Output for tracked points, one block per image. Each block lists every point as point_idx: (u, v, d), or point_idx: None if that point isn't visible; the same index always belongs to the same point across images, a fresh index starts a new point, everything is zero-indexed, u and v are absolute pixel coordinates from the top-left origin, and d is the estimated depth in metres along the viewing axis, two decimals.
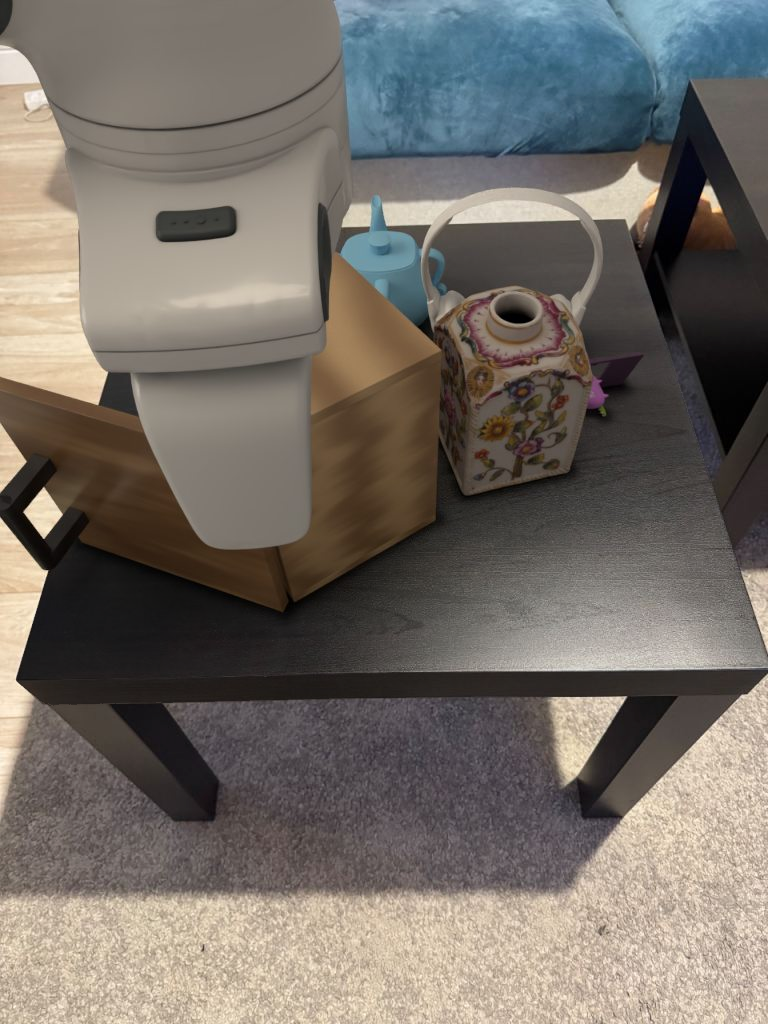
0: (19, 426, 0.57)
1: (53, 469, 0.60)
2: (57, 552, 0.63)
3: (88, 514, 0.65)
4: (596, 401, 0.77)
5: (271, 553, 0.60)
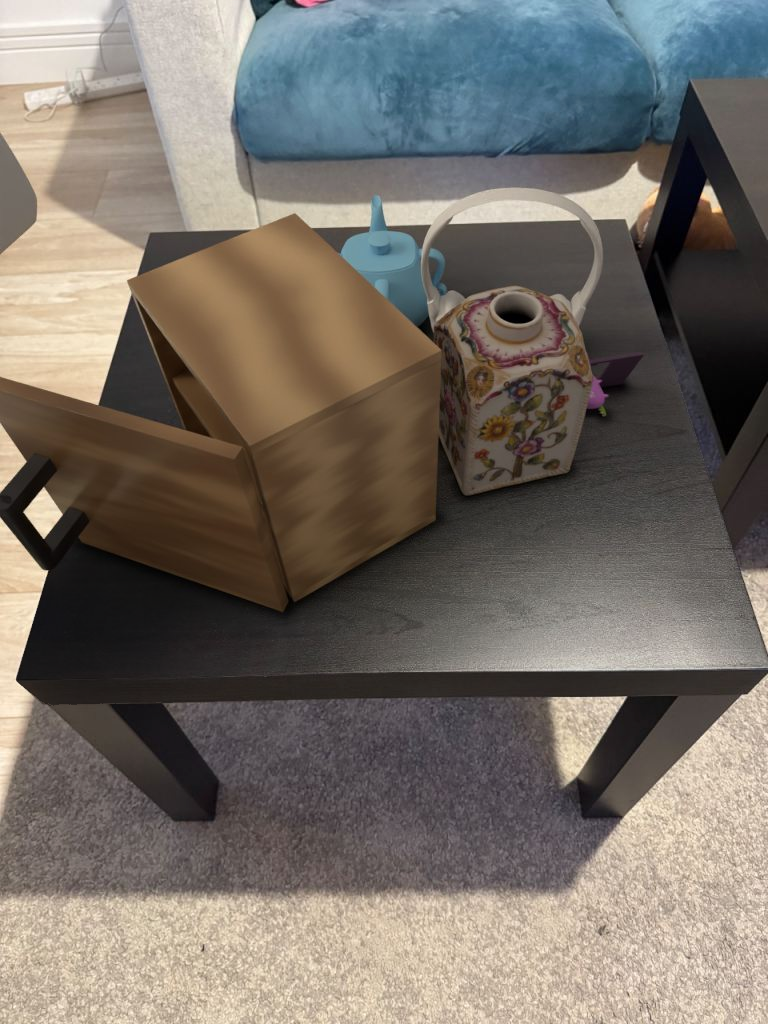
0: (19, 426, 0.57)
1: (53, 469, 0.60)
2: (57, 552, 0.63)
3: (88, 514, 0.65)
4: (596, 401, 0.77)
5: (271, 553, 0.60)
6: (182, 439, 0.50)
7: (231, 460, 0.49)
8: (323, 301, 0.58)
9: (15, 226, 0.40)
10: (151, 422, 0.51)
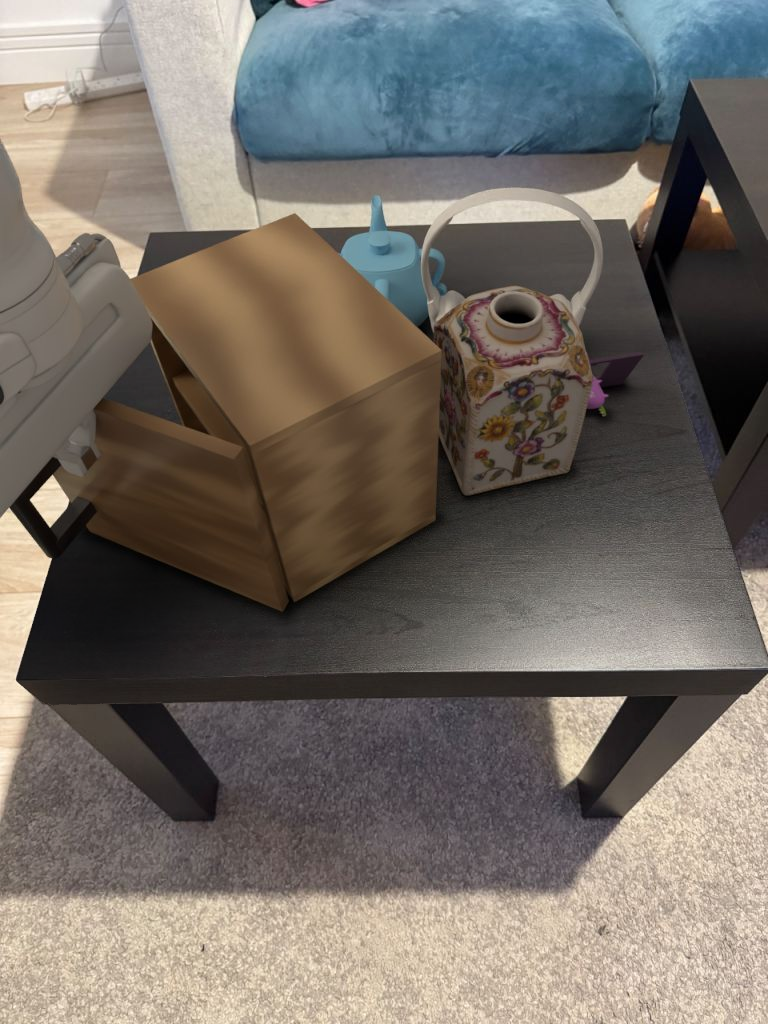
0: None
1: None
2: (63, 540, 0.64)
3: (96, 504, 0.66)
4: (596, 401, 0.77)
5: (271, 553, 0.60)
6: (184, 437, 0.50)
7: (231, 459, 0.49)
8: (323, 301, 0.58)
9: (138, 347, 0.53)
10: (155, 418, 0.51)
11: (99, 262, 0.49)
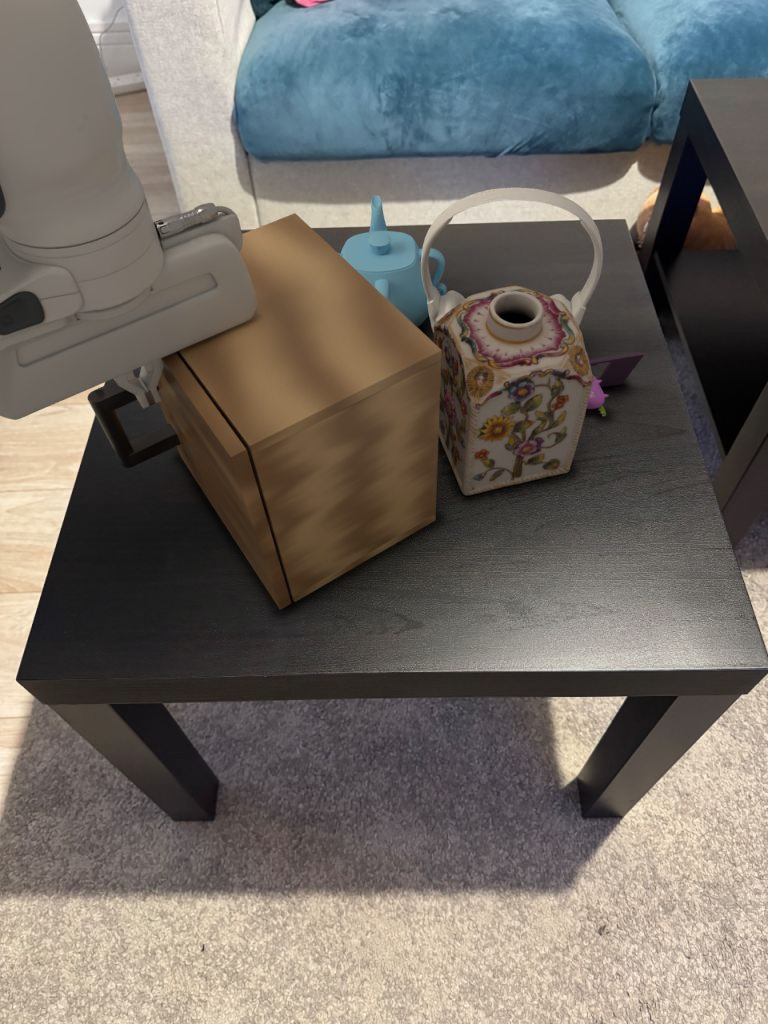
0: None
1: None
2: (137, 456, 0.69)
3: (178, 437, 0.70)
4: (596, 401, 0.77)
5: (272, 554, 0.59)
6: (208, 417, 0.51)
7: (229, 456, 0.49)
8: (323, 301, 0.58)
9: (231, 321, 0.55)
10: (199, 388, 0.53)
11: (216, 233, 0.51)
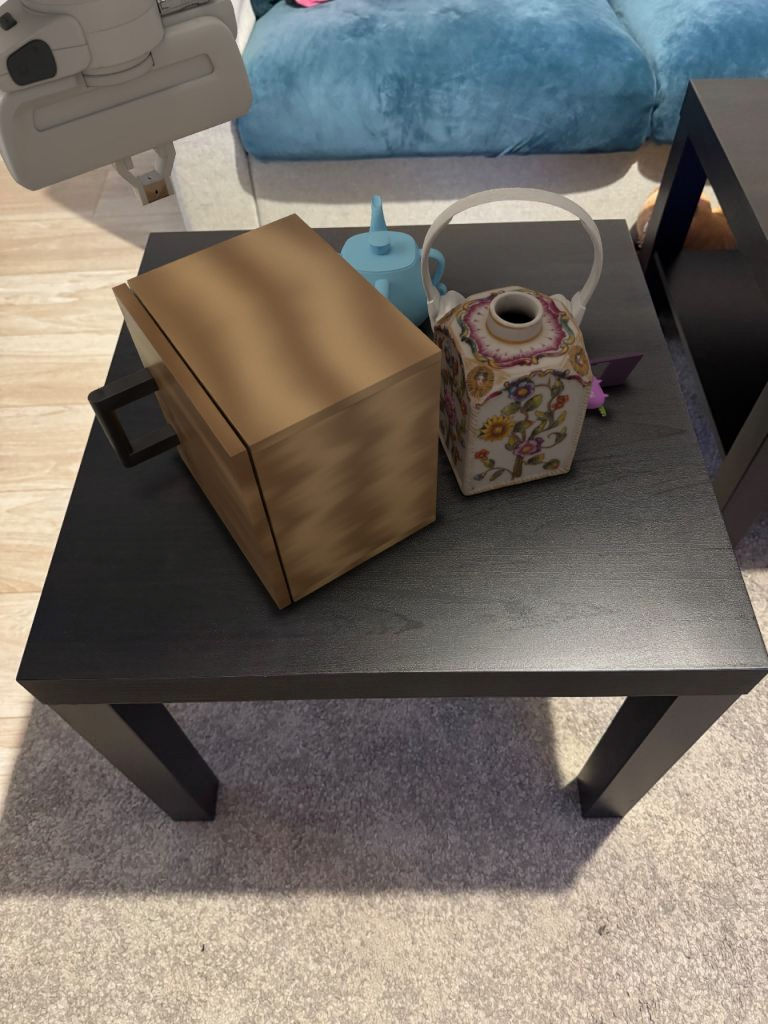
0: (136, 340, 0.62)
1: (155, 388, 0.65)
2: (137, 456, 0.69)
3: (178, 437, 0.70)
4: (596, 401, 0.77)
5: (272, 554, 0.59)
6: (208, 417, 0.51)
7: (229, 456, 0.49)
8: (323, 301, 0.58)
9: (228, 112, 0.60)
10: (199, 388, 0.53)
11: (212, 16, 0.55)
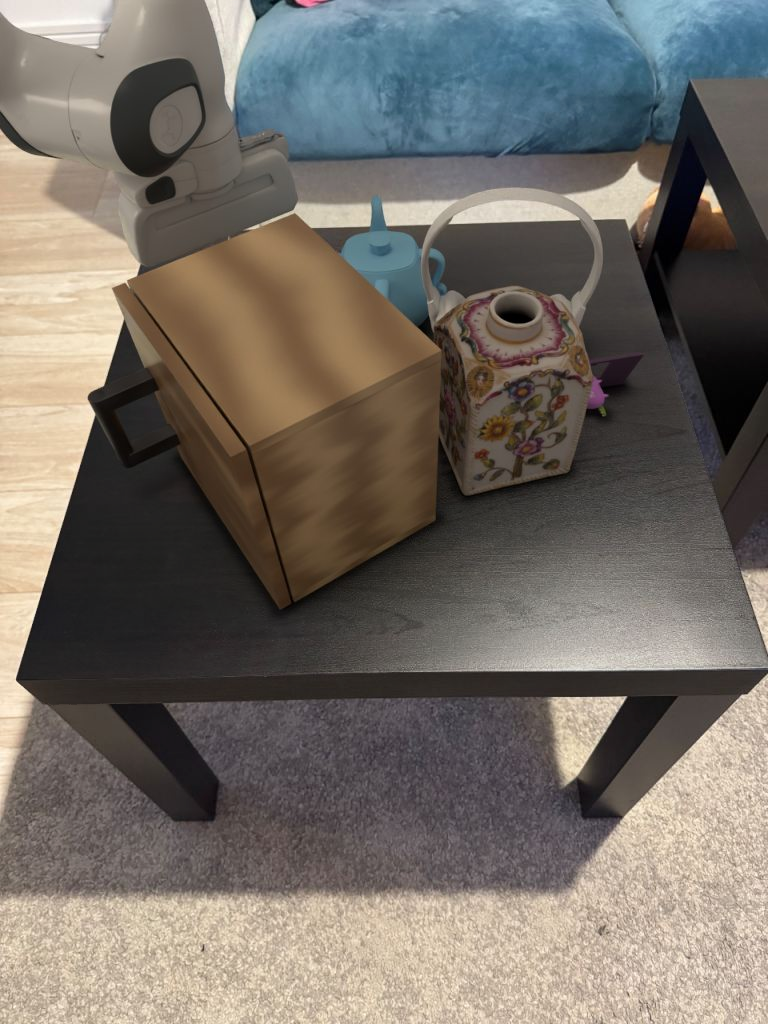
0: (136, 340, 0.62)
1: (155, 388, 0.65)
2: (137, 456, 0.69)
3: (178, 437, 0.70)
4: (596, 401, 0.77)
5: (272, 554, 0.59)
6: (208, 417, 0.51)
7: (229, 456, 0.49)
8: (323, 301, 0.58)
9: (281, 209, 0.85)
10: (199, 388, 0.53)
11: (273, 148, 0.81)
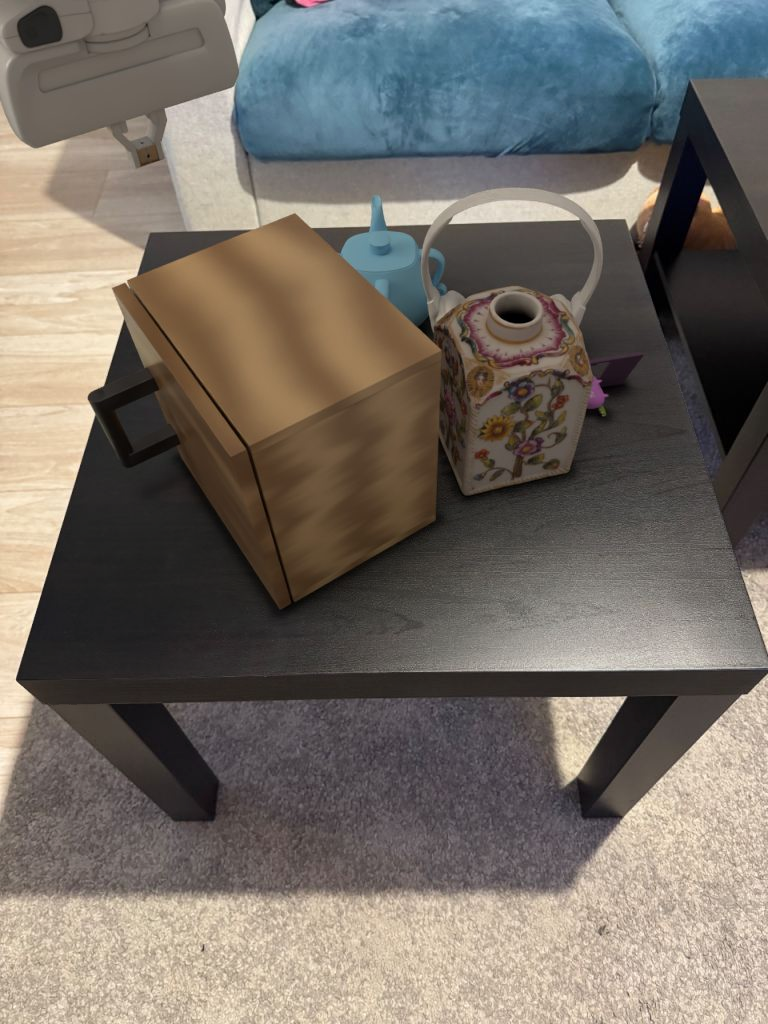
0: (136, 340, 0.62)
1: (155, 388, 0.65)
2: (137, 456, 0.69)
3: (178, 437, 0.70)
4: (596, 401, 0.77)
5: (272, 554, 0.59)
6: (208, 417, 0.51)
7: (229, 456, 0.49)
8: (323, 301, 0.58)
9: (216, 83, 0.65)
10: (199, 388, 0.53)
11: None
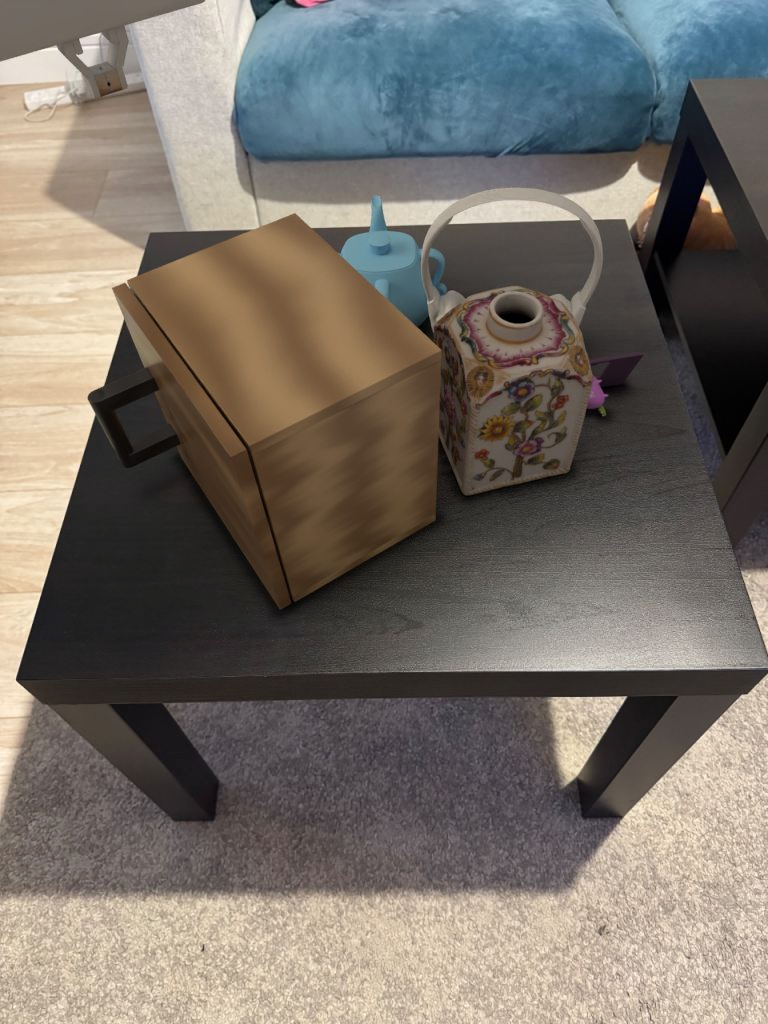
0: (136, 340, 0.62)
1: (155, 388, 0.65)
2: (137, 456, 0.69)
3: (178, 437, 0.70)
4: (596, 401, 0.77)
5: (272, 554, 0.59)
6: (208, 417, 0.51)
7: (229, 456, 0.49)
8: (323, 301, 0.58)
9: None
10: (199, 388, 0.53)
11: None
